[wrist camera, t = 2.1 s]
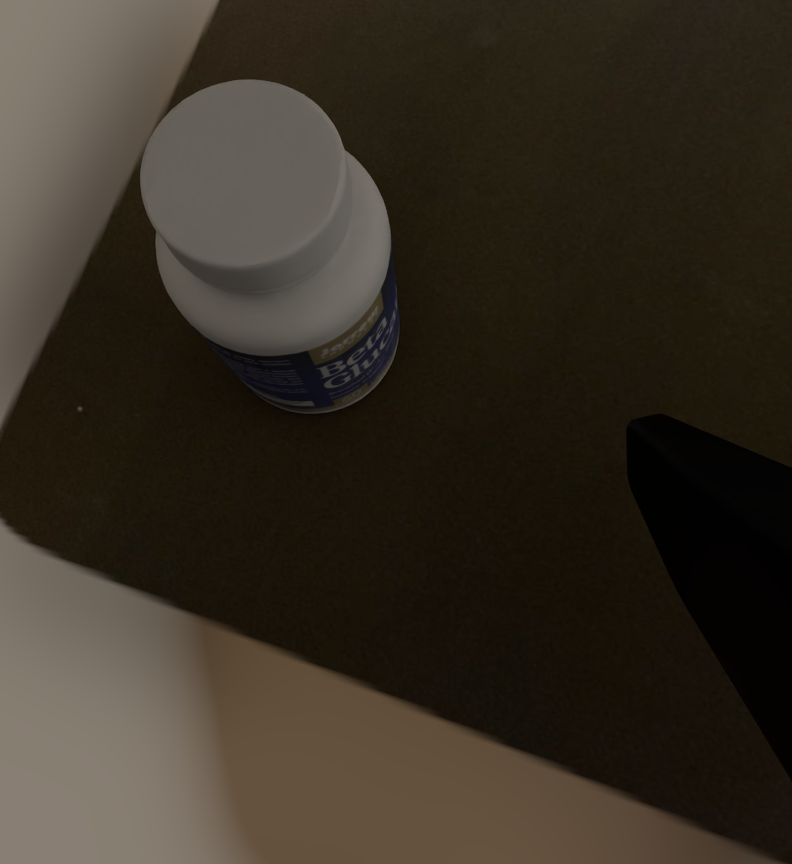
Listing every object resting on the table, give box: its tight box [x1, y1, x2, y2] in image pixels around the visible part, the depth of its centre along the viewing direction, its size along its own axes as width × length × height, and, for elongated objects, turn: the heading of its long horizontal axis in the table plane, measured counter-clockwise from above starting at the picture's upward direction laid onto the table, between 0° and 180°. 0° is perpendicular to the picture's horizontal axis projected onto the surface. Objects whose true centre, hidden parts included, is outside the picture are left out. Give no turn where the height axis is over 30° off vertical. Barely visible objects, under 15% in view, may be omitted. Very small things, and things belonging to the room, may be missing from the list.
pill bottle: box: [140, 80, 399, 414], centre depth 19 cm, size 5×5×10 cm
